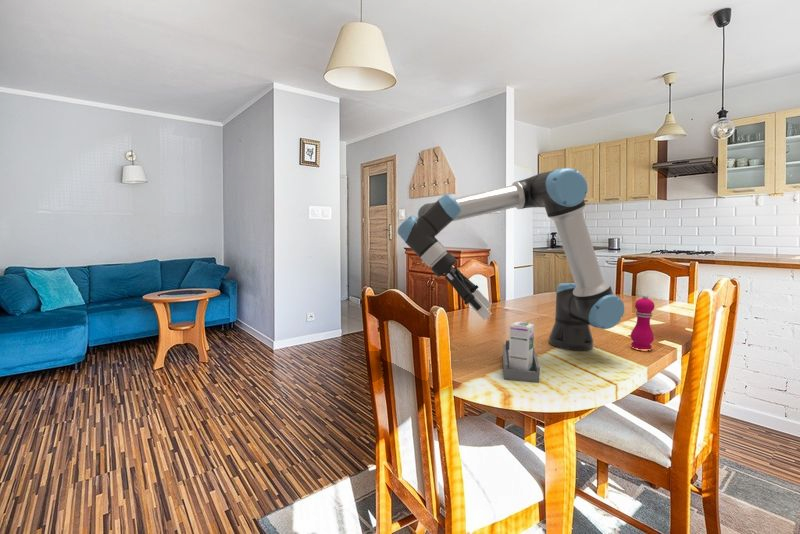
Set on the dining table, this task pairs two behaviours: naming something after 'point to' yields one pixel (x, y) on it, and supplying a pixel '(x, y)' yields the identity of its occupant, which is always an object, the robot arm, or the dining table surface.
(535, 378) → the grey card holder
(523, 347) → the syrup box
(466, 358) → the dining table surface
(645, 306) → the pepper mill
